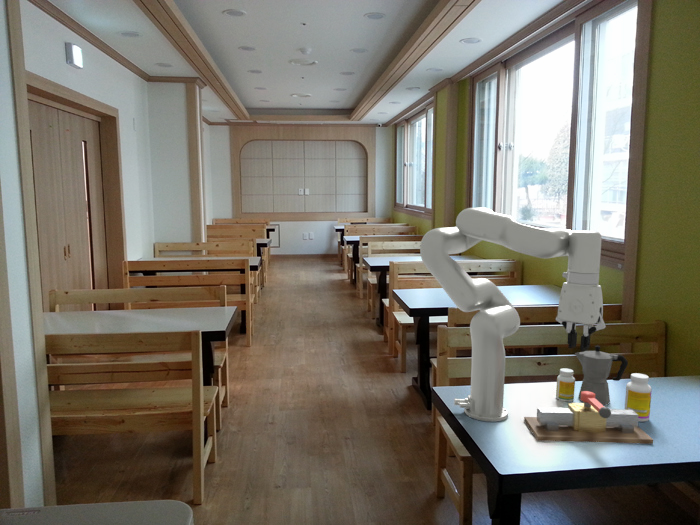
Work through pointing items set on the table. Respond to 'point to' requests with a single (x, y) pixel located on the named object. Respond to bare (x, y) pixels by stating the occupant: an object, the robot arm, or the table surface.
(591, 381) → the coffeepot
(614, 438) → the plank
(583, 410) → the valve
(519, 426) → the table surface
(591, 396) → the lever
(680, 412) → the table surface
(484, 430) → the table surface
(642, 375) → the supplement bottle
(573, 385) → the supplement bottle
